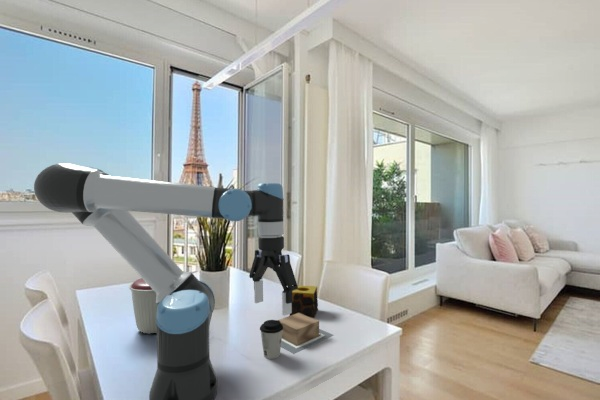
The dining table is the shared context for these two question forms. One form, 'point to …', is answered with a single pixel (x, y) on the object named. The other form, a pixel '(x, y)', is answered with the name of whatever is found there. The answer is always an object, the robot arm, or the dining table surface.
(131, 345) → the dining table surface
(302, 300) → the candle
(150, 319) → the canister
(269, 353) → the coffee cup
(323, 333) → the gray placemat
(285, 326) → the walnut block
